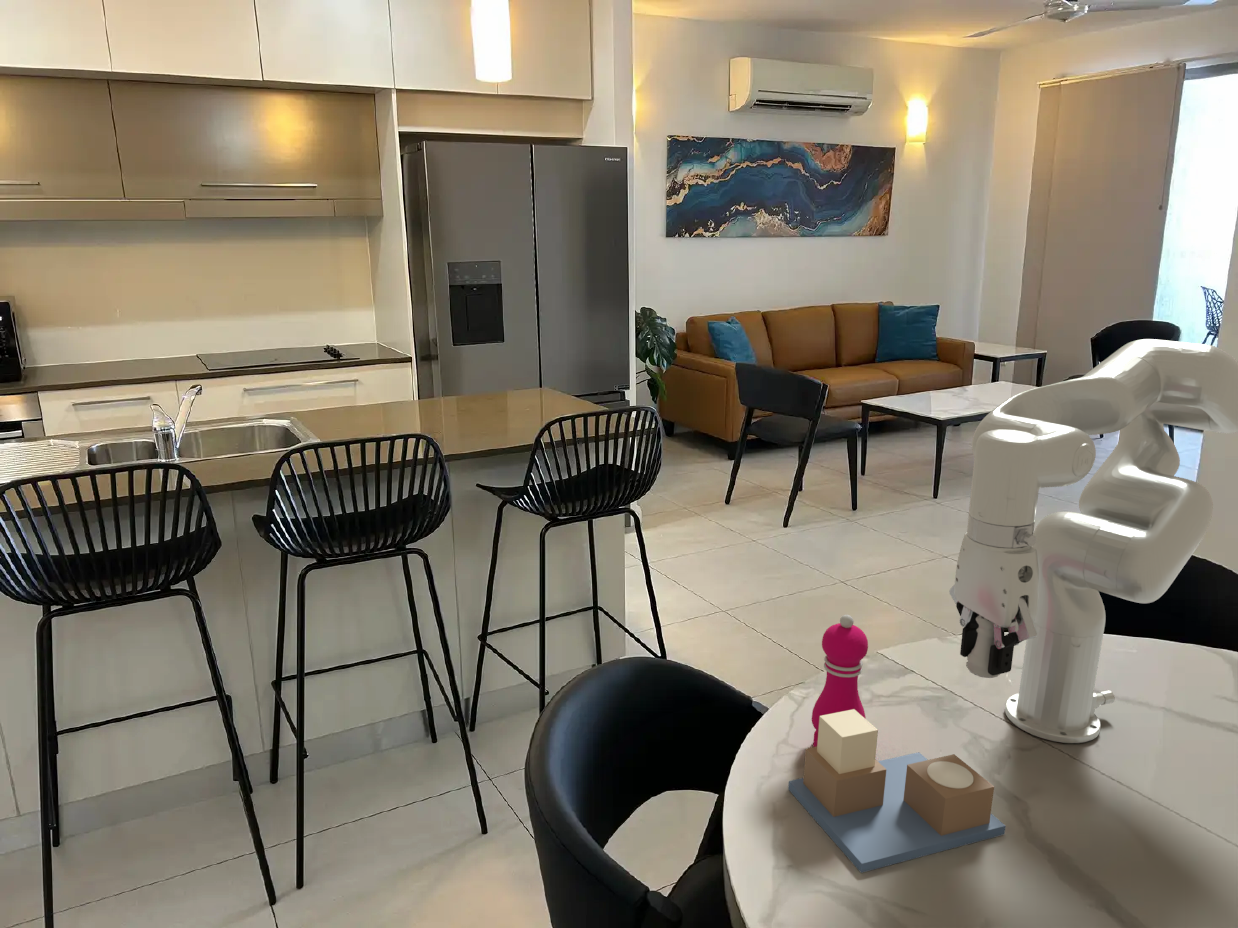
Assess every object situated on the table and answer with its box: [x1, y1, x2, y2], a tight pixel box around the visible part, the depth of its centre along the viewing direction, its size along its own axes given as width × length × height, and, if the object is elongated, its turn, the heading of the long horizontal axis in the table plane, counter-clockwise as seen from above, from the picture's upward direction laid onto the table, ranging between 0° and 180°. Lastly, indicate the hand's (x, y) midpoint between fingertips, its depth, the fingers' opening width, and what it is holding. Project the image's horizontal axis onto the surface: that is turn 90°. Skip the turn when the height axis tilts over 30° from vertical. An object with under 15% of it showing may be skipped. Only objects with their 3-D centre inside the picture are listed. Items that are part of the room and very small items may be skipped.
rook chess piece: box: [965, 615, 1001, 679], centre depth 113 cm, size 4×4×8 cm
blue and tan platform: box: [787, 709, 1006, 874], centre depth 107 cm, size 20×16×11 cm
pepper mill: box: [811, 614, 869, 747], centre depth 119 cm, size 7×7×20 cm
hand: (985, 661), depth 114 cm, fingers closed on rook chess piece, 4 cm apart
